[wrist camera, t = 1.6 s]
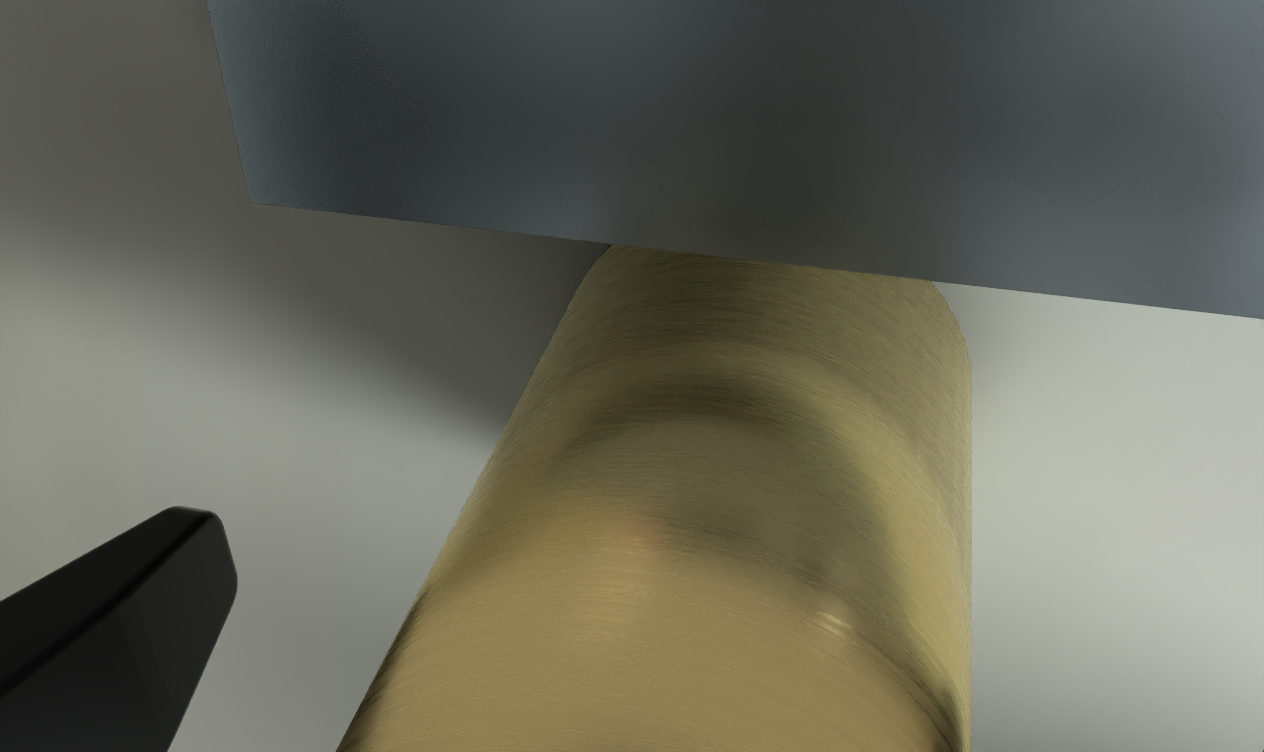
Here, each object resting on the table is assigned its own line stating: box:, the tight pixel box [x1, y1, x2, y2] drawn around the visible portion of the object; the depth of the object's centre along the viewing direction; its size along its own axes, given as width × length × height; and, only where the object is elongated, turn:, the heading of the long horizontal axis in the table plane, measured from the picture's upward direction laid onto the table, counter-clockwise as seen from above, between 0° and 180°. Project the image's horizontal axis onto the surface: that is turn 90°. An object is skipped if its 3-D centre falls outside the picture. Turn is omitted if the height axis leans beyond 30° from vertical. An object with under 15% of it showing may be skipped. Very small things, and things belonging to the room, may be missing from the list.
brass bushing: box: [336, 244, 972, 752], centre depth 10 cm, size 4×4×7 cm
